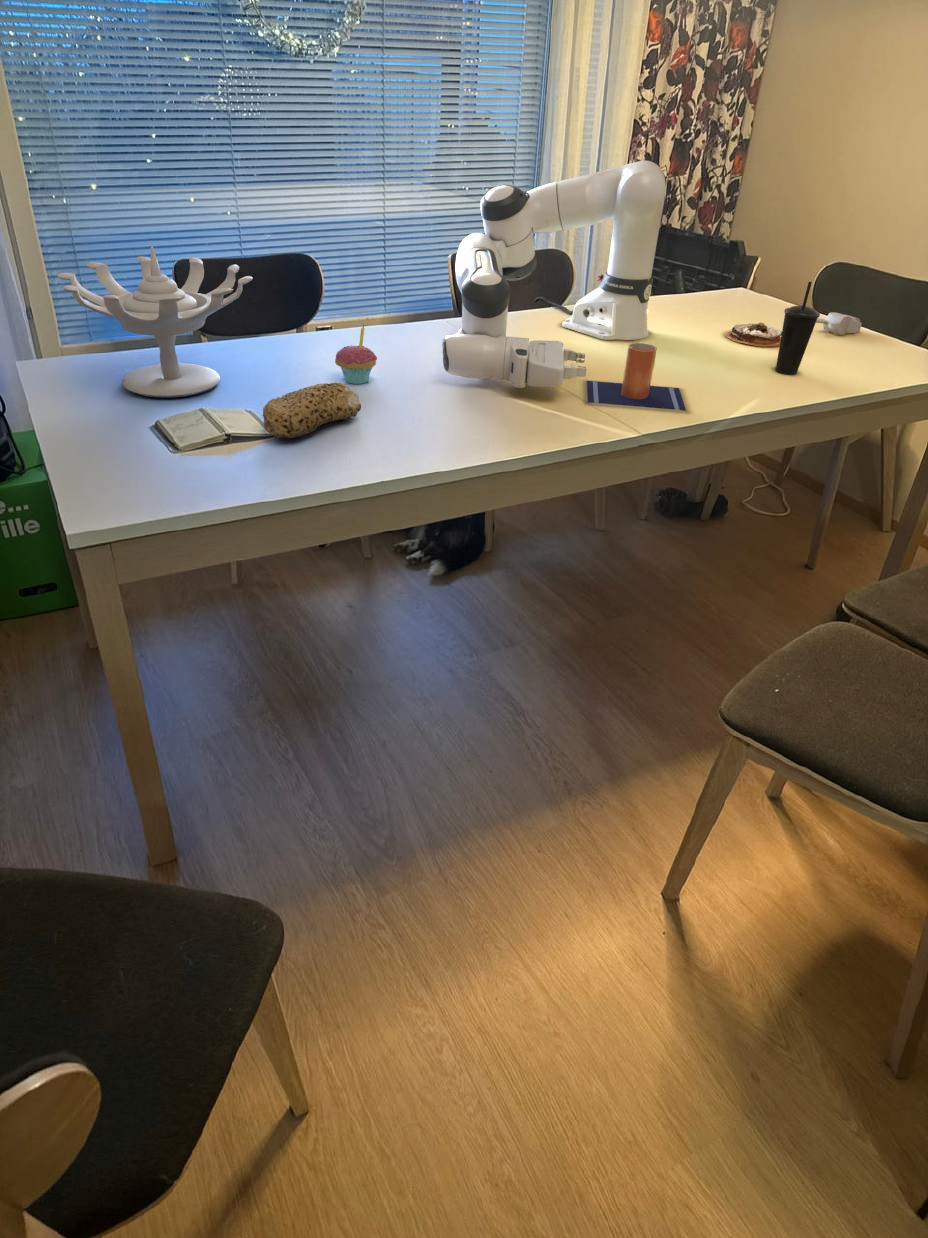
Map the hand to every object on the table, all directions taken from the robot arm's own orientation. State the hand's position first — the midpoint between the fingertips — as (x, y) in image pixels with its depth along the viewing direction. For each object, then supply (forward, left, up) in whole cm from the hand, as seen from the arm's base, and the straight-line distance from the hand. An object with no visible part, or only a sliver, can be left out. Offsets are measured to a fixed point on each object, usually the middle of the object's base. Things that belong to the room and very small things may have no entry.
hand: (585, 364), depth 173 cm
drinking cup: (+27, +48, -6) cm, 55 cm away
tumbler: (+9, +6, -5) cm, 12 cm away
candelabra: (-62, -56, -6) cm, 84 cm away
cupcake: (-39, -28, -6) cm, 48 cm away
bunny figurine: (+25, +93, -6) cm, 96 cm away
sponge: (-27, -53, -6) cm, 60 cm away
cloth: (+9, +6, -6) cm, 13 cm away
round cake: (+11, +70, -6) cm, 71 cm away
